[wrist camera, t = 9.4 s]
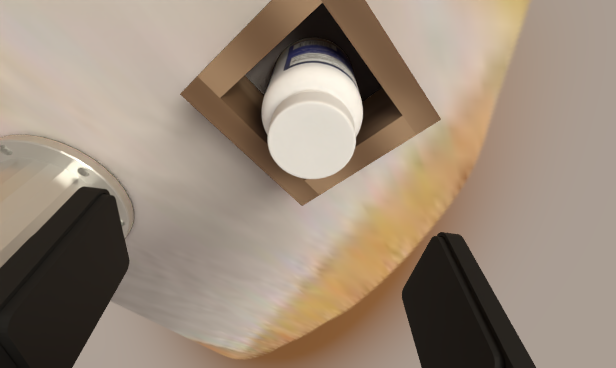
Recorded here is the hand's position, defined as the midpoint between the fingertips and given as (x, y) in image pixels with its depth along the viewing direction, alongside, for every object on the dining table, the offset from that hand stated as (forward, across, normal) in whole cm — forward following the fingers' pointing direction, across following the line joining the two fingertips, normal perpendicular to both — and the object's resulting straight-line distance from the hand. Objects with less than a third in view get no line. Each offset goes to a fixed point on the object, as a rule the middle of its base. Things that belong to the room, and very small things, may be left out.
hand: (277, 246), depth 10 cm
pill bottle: (+15, -1, -1) cm, 15 cm away
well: (+14, -1, -1) cm, 15 cm away
